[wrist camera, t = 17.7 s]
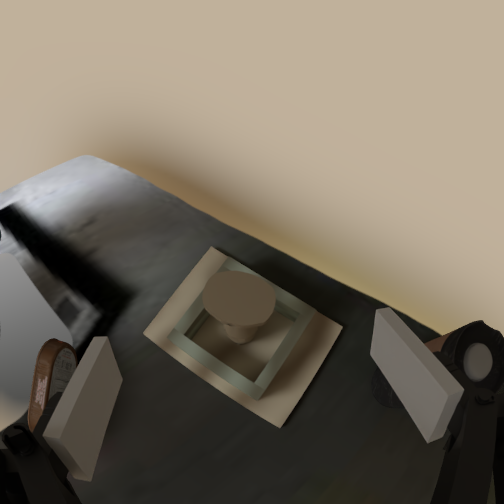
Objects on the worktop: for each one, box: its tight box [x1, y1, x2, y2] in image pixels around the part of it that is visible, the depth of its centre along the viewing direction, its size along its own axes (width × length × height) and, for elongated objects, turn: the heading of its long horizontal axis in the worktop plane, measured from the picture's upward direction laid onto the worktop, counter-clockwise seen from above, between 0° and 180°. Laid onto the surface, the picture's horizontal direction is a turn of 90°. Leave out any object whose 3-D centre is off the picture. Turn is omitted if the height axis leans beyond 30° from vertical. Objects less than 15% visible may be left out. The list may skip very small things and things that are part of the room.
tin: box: [28, 338, 78, 432], centre depth 33 cm, size 15×3×8 cm, turn 174°
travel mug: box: [372, 320, 504, 408], centre depth 30 cm, size 8×8×20 cm
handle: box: [202, 271, 276, 345], centre depth 35 cm, size 5×6×15 cm
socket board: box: [143, 247, 343, 428], centre depth 40 cm, size 22×16×6 cm
